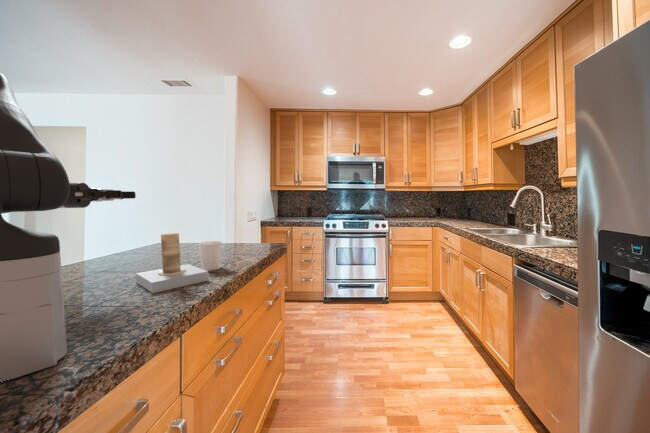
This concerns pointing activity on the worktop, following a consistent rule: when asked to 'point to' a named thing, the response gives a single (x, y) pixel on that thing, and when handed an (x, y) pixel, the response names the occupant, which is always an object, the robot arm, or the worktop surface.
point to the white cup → (210, 255)
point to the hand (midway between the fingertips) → (128, 194)
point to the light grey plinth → (171, 278)
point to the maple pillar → (170, 252)
